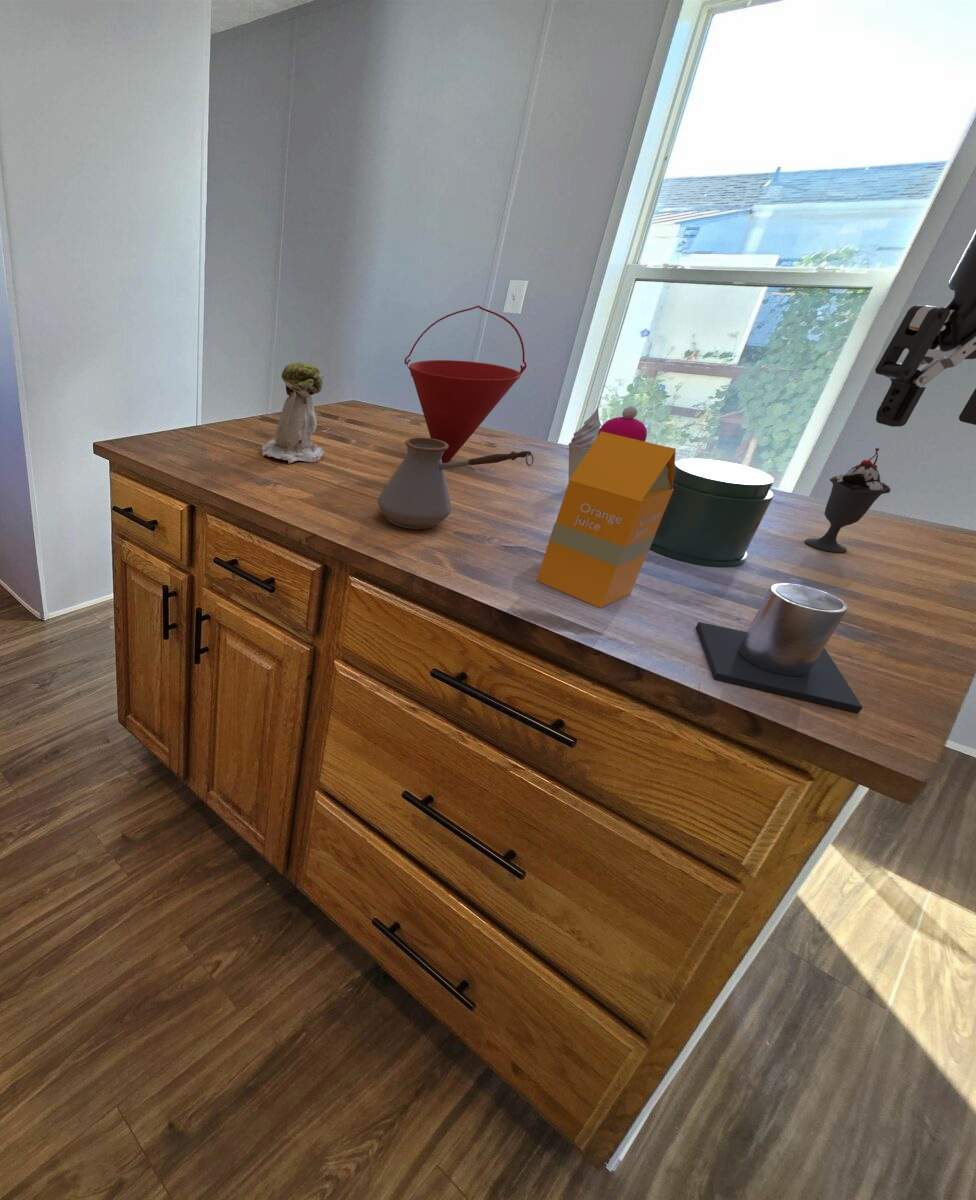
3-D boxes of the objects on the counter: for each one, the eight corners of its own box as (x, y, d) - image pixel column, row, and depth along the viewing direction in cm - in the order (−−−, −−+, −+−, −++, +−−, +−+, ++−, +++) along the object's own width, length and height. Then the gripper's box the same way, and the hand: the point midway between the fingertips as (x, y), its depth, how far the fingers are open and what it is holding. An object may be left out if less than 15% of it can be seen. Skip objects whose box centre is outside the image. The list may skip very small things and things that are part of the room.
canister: (734, 539, 103) (770, 465, 97) (755, 575, 92) (797, 494, 86) (632, 522, 108) (660, 451, 102) (641, 554, 97) (672, 476, 91)
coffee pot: (361, 519, 107) (376, 427, 100) (397, 502, 114) (414, 415, 107) (489, 562, 94) (518, 460, 87) (521, 540, 101) (550, 444, 94)
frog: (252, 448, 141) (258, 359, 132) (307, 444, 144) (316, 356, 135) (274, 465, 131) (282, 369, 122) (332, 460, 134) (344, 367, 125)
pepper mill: (558, 523, 107) (599, 399, 97) (608, 530, 105) (656, 404, 95) (562, 540, 101) (607, 409, 91) (616, 548, 99) (667, 415, 89)
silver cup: (799, 653, 73) (837, 590, 69) (817, 683, 68) (858, 617, 64) (732, 639, 75) (764, 577, 72) (744, 666, 71) (779, 602, 67)
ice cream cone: (585, 495, 119) (614, 412, 111) (554, 490, 121) (580, 408, 113) (585, 487, 122) (613, 406, 115) (555, 482, 125) (581, 402, 117)
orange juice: (566, 567, 93) (616, 427, 83) (631, 593, 86) (693, 444, 77) (534, 580, 89) (582, 435, 79) (600, 608, 83) (661, 454, 73)
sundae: (834, 538, 103) (886, 445, 96) (864, 556, 98) (923, 459, 90) (787, 535, 104) (835, 442, 97) (815, 553, 99) (869, 456, 91)
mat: (821, 653, 75) (825, 647, 74) (858, 713, 65) (863, 707, 65) (695, 627, 79) (698, 621, 79) (713, 679, 70) (717, 673, 70)
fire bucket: (489, 458, 138) (530, 302, 123) (508, 489, 121) (558, 313, 106) (384, 449, 142) (410, 298, 127) (388, 478, 125) (419, 308, 110)
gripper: (1014, 230, 51) (900, 436, 59) (1183, 229, 52) (1047, 433, 60) (914, 230, 57) (824, 415, 65) (1065, 229, 58) (957, 413, 66)
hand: (930, 424), depth 63 cm, fingers open, 8 cm apart
